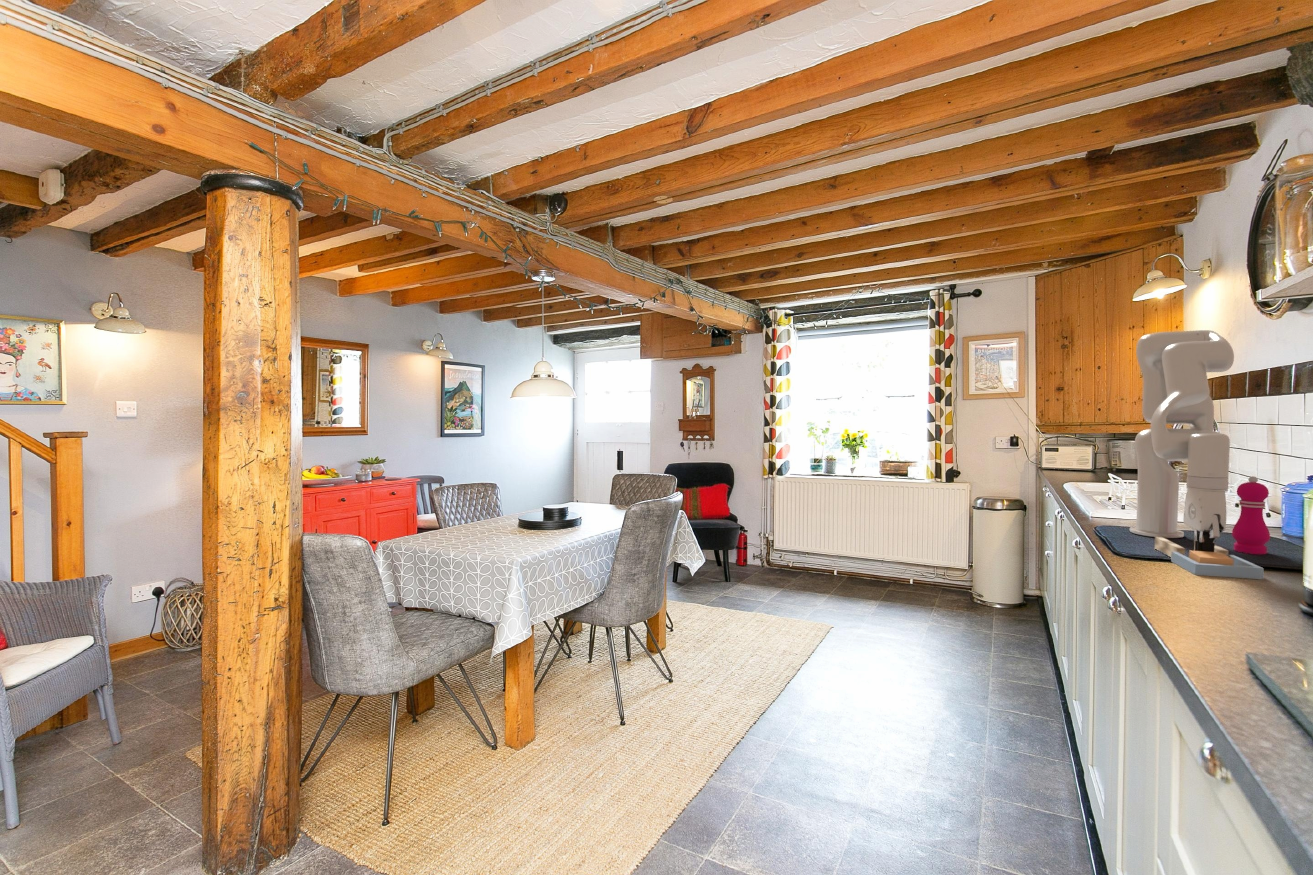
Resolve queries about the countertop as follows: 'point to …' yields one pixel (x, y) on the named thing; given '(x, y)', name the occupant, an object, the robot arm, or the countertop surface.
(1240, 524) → the pepper mill
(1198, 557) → the block
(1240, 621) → the countertop surface
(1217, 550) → the pair of wooden slats
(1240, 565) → the bay
